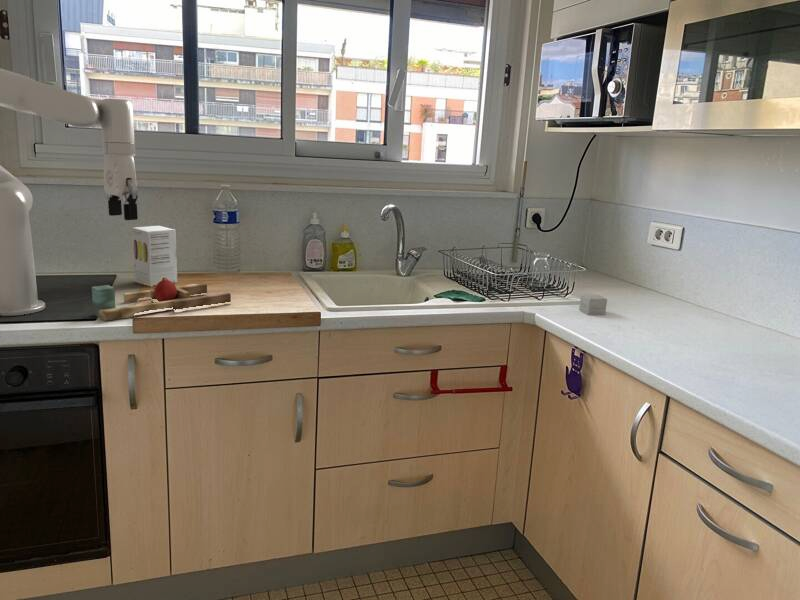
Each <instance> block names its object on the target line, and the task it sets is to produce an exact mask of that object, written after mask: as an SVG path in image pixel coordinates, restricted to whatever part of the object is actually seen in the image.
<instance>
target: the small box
mask: <svg viewBox="0 0 800 600" xmlns="http://www.w3.org/2000/svg"><path fill="white" fill-rule="evenodd" d="M607 304H608V298H606V297H603V295H602V296H601V295H599V294H593V293H591V294H589V293H588V294H580V301H579V311H580V312H582V313H584V314H585V315H588V316H605V315H606V311H607Z"/></svg>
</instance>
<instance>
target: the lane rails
mask: <svg viewBox="0 0 800 600" xmlns="http://www.w3.org/2000/svg"><path fill="white" fill-rule="evenodd" d="M178 288H181V289H183V290H185V291H188V292H190V295H194V294H201V293H207V294H208V284H206V283H200V284H197V285H193V286H185V287H178ZM150 291H151V298H152V299H156V298H155V295H154V290H150ZM231 297H232V295H231V293H230V292H226V293H225V292H224V293H218V294H210V295H202V296H196V297H190V299H183V300H177V301H173V309H175V310H176V309H183V308H189V307H196V306H203V305H211V304H218V303H225V302H231V303H232V298H231Z"/></svg>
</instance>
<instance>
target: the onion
mask: <svg viewBox="0 0 800 600" xmlns="http://www.w3.org/2000/svg"><path fill="white" fill-rule="evenodd" d="M175 286H176V285H175V284H173V283H172V282H171V281H169V280H168V279H167V277H163V278H162V281H160V282H159V283H158V284H157V285H156V286H155V287H154V290H153V291H154V295H155V298H156V299H157V300H158V301H159V302H162V301H168V300H175V299H176V297H177V289H176V287H175Z"/></svg>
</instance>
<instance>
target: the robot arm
mask: <svg viewBox="0 0 800 600" xmlns="http://www.w3.org/2000/svg"><path fill="white" fill-rule="evenodd" d="M0 107H2V108H4V109H7V110H12V111H16V112H18V113H22V114H29V115H34V116H37V117H41V118H44V119H45V118H46V119H48V120H52V121H54V122H58V123H62V124H66V125H68V126H73V127H76V128H80V129H88V128H96V127H97V128H99V127H101V138H102V139H101V140H102V156H103V157H104V158H103V191H104V193H106V194H107V197H106V198H107V203H108V204H107V205H108V206H107V207H108V215H109V216H111V217H113V216H122V214H123V217H124V221H136V220H138V219H139V218H138V217H139V215H138V191H139V188H138V184H137V174H136V173H137V172H136V165H135V159H134V157H136V145H135V144H136V141H135V125H134V124H135V123H134V122H135V121H134V109H133V107H134V106H133V103H132V102H131V101H130V100H127V99H121V98H104V99H100V98H99V99H98V98H92V97H88V96H86V95H83V94H80V93H76V92H72V91H69V90H65V89H64V88H63V89H62V88H59V87H56V86H53V85H49V84H46V83H44V82H40V81H38V80H35V79H33V78H31V77H29V76H26V75H25V74H24V75H23V74H20V73H18V72H13V71H10V70H7V69H4V68H1V67H0ZM121 197H122V199H123V202H124V204H123V209H122V199H120V198H121ZM33 203H34V198H33V195H32V192H31V190H30V189H29V187H27V186H26V185H25V184H24V183H23V182H22V181H20V180H19V179H18V178H17V177H16V176H15V175H13V174H12V173H11V172H9V171H8V170H7V169H5V168H4V167H3V166H2V165H1V164H0V315H1V316H3V317H5V316H6V317H7V316H8V317H11V316H12V317H13V316H23V315H24V314H25V315H29V314H30V313H31V314H34V313H35V314H36V313H38V312H40V311H43V310H45V308H46V303H45V302H44V301H43V300H41V299H40V300H39V298H38V288H37V278H36V268H35V267H36V266H35V265H36V264H35V257H34V248H33V237H32V230H31V222H30V216H29V215H30V214H29V212H30V211H31V210H32V207H33Z"/></svg>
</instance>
